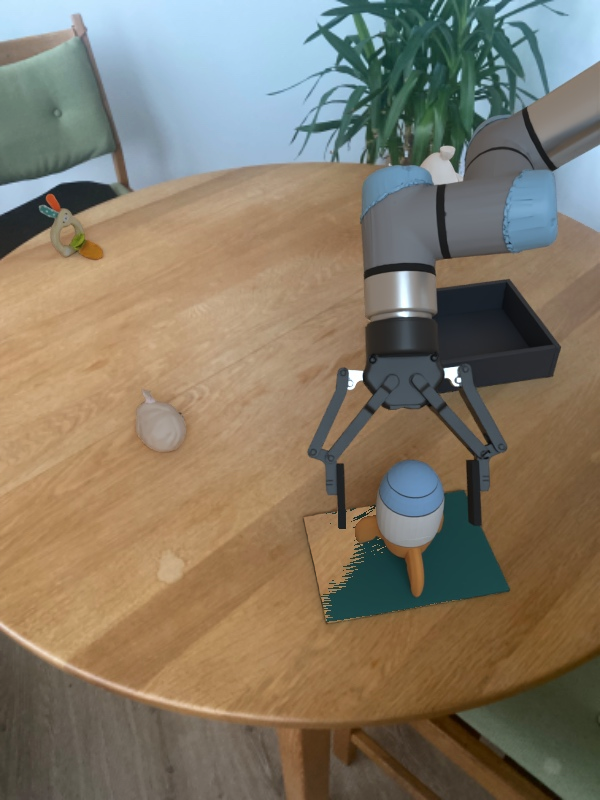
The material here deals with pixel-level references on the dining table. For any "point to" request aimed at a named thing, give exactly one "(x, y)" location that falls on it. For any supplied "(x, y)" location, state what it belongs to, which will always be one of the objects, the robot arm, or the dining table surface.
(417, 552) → the toy rocket
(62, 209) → the rattle
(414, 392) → the robot arm
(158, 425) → the garlic bulb
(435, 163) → the honey pot
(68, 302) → the dining table surface
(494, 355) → the tub
